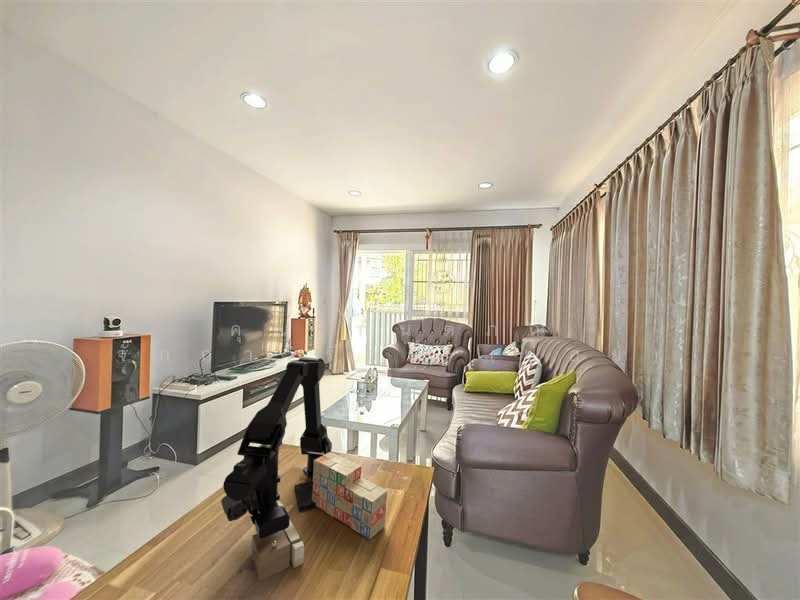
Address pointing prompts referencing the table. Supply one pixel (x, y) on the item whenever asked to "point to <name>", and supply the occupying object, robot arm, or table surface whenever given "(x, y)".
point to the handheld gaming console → (304, 495)
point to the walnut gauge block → (270, 554)
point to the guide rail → (294, 544)
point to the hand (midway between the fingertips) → (262, 538)
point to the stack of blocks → (348, 494)
